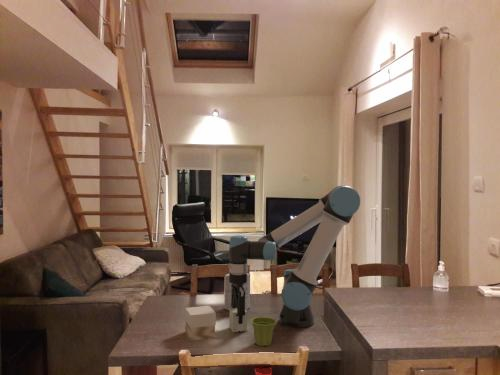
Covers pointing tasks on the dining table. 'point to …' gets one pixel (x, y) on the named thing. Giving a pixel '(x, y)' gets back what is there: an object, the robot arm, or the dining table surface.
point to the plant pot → (263, 330)
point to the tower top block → (200, 316)
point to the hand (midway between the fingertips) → (237, 328)
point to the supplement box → (228, 289)
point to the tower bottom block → (200, 332)
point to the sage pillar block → (233, 319)
